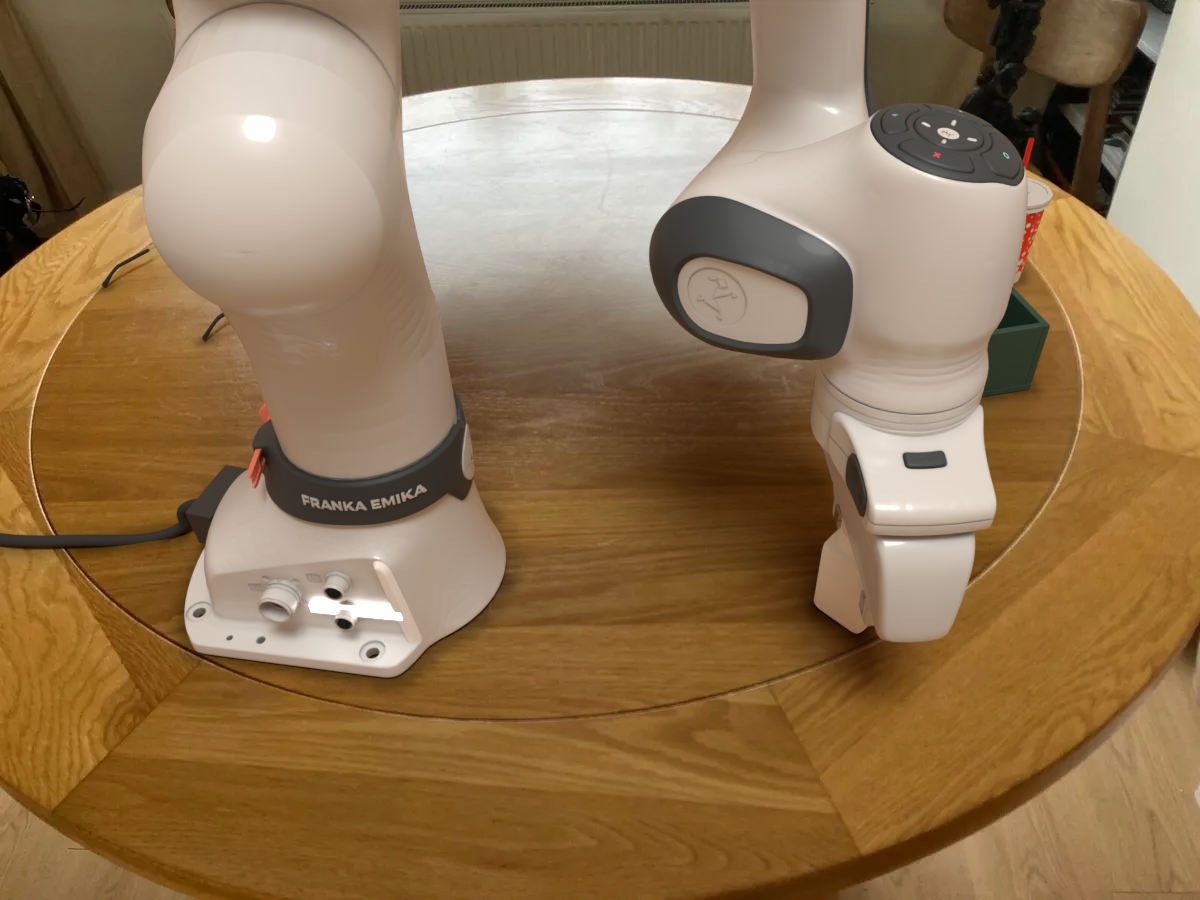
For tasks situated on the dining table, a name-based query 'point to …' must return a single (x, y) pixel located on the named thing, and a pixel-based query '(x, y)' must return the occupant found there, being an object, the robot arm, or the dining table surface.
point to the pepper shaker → (840, 582)
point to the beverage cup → (1032, 211)
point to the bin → (1015, 348)
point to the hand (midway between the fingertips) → (859, 567)
